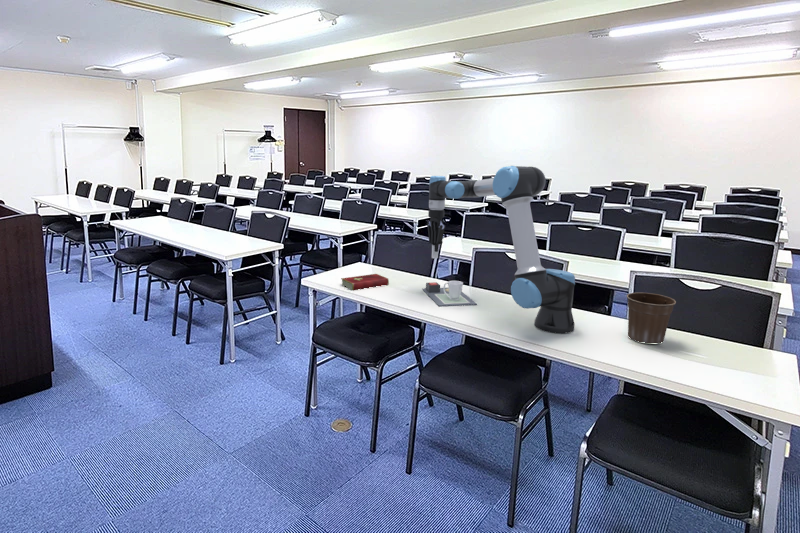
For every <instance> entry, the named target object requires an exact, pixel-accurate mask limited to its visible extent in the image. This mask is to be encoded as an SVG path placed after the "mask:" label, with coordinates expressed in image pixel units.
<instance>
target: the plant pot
mask: <svg viewBox="0 0 800 533" xmlns="http://www.w3.org/2000/svg"><path fill="white" fill-rule="evenodd" d="M626 299H627V307H628V309H627V310H628V311H627V312H628V321H627V322H628V323H627V337H628V336H629V337H630V338H631V339H633V341H635V340H636V341H639V342H645V343H658V344H659V343H661V342H663V341H665V336H666V333H667V329H668V325H669V322H670V318H671V314H672V313H673V310H674V308H675V307H674V306H675V305H676V304H677V301H676V300H675V299H674V298H672V297H670V296H666V295H662V294H658V293H651V292H630V293H628V294H626ZM629 337H628V338H629ZM630 338H629V339H630ZM631 339H630V340H631ZM636 341H635V342H636ZM639 342H638V343H639ZM663 343H664V342H663Z"/></svg>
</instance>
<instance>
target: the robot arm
mask: <svg viewBox="0 0 800 533" xmlns="http://www.w3.org/2000/svg"><path fill="white" fill-rule="evenodd" d="M546 182H547V181H546V175H545V173H544V172H543V171H542V170H541V169H539V168H538V167H536V166H522V165H521V166H517V165H516V166H515V165H510V166H509V165H508V166H503V167H501V168H499V169H498V170H497V171H496V173H495V175H494V177H491V178H484V179H478V180H468V181H467V180H465V181H464V180H463V181H462V180H457V181H456V180H452V181H451V180H447V179H446V176H443V175H431V176H430V177H429V184H428V186H429V187H428V208H429V209H428V217H429V221H428V222H427V221H426V226H427V232H428V233H427V235H428V242H429V243H430V244H431V259H439V248H440V247H439V246H440V245H442V244H443V240H444V233H445V229H446V228H447V227H446V226H447V225H445V224H443V222H444V221H443V219H444V217H445V210H444V209H445V208H446V206H445V205H446V198H447V199H452V200H453V199H455V200H456V199H463V198H464V199H465V198H475V199H476V198H477V199H478V198H482V197H490V196H496V197H498V198H500V199H501V205H502V206H504V207H505V208H506V211H507V216H508V222H509V227H510V233H511V239H512V244H513V245H512V246H513V249H514V255H515V260H516V266H517V267H516V268H517V270H516V272H515V273H514V280H513V281H512V283H511V286H510V293H511V294H510V295H511V296H512V299H513V301H514V302H515V303H516V304H517V305H518V306H519V307H521V308H523V309H537V308H539V309H538V312H537V314H536V317H535V319H534V326H535V328H536V329H538V330H540V331H544V332H545V333H546V332H547V333H551V334H561V335H562V334H571V333H573V332H574V330H575V326H576V325H575V320H574V319H575V318H574V316H573V311H572V310H573V309H572V308H573V302H574V292H575V285H576V283H575V282H576V276H575V275H574V273H571V272H569V271H566V270H562V269H554V268H544V266H542V264H541V258H540V252H539V248H538V242H537V236H536V231H535V225H534V220H533V214H532V209H531V208H532V207H531V202H532V200H533V199H534V197H535V196H538V195H539V194H541V192H542V191H543V190H544V188H545V186H546Z"/></svg>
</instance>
